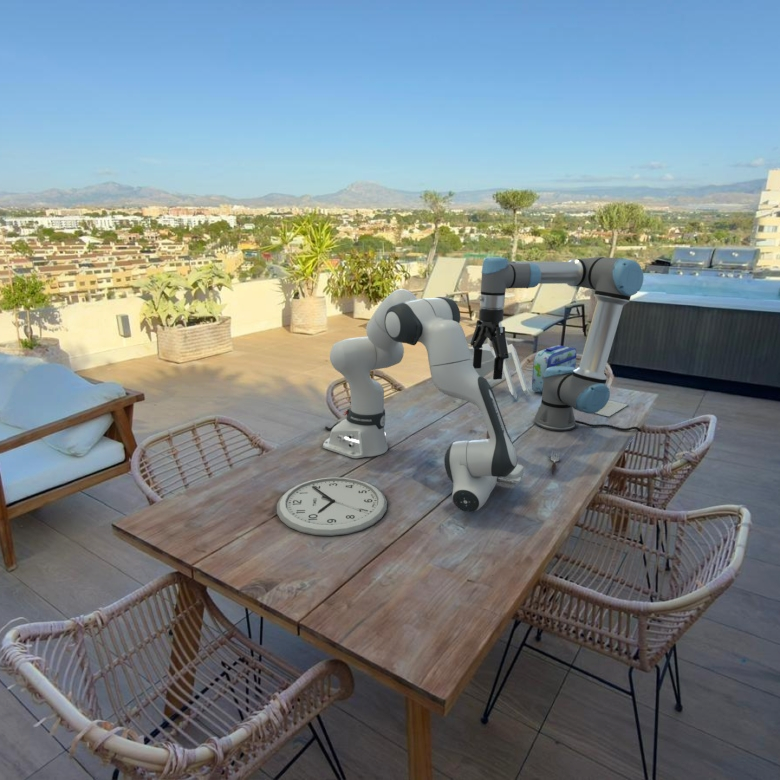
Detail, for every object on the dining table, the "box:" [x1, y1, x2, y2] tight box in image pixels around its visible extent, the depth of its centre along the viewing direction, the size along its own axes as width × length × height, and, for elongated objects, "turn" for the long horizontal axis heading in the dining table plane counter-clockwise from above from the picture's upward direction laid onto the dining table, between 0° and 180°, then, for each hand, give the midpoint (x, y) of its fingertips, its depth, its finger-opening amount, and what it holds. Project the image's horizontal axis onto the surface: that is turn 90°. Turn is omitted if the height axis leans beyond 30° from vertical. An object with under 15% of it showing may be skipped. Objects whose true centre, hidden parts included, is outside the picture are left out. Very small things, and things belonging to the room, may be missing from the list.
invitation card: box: [595, 399, 629, 418], centre depth 226 cm, size 21×1×15 cm
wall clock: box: [276, 476, 388, 537], centre depth 142 cm, size 30×2×30 cm
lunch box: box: [531, 345, 577, 394], centre depth 245 cm, size 26×11×21 cm, turn 134°
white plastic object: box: [468, 321, 531, 400], centre depth 245 cm, size 37×45×31 cm
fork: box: [550, 450, 560, 475], centre depth 169 cm, size 3×16×2 cm, turn 160°
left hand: (493, 458), depth 159 cm, fingers open, 8 cm apart
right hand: (486, 373), depth 170 cm, fingers open, 13 cm apart
